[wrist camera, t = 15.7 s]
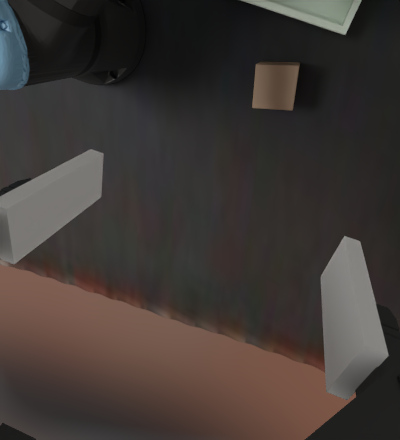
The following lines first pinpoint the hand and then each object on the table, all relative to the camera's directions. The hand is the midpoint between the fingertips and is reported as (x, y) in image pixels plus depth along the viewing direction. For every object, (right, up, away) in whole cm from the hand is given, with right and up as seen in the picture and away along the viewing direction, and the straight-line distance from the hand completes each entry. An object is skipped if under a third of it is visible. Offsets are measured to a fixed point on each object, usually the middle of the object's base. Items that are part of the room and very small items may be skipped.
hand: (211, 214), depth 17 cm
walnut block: (+10, +18, +26) cm, 33 cm away
